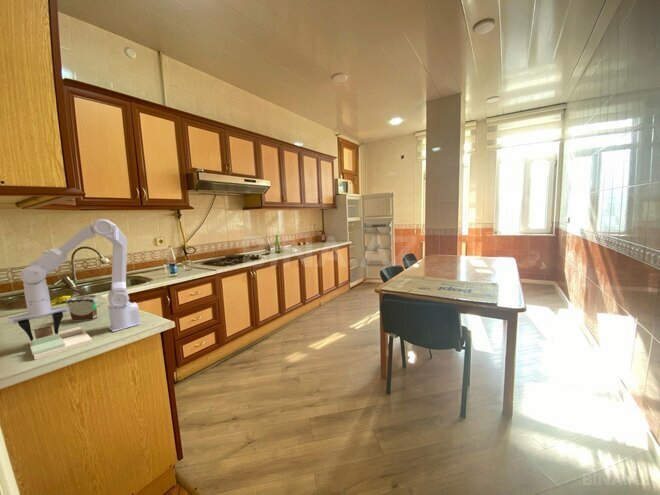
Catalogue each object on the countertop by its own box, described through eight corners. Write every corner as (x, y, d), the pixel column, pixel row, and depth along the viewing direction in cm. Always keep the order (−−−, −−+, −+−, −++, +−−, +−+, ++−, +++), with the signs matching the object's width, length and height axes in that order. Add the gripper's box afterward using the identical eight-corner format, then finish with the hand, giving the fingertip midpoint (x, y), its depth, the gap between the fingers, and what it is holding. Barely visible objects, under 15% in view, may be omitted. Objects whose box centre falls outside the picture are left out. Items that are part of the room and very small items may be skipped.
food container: (107, 314, 125) (105, 294, 124) (96, 319, 119) (93, 298, 118) (80, 316, 125) (77, 295, 124) (68, 321, 119) (65, 299, 118)
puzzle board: (81, 329, 108) (80, 326, 108) (92, 342, 96) (91, 339, 96) (29, 343, 97) (28, 339, 97) (34, 360, 85) (34, 355, 85)
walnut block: (53, 341, 99) (50, 325, 98) (54, 344, 96) (51, 328, 96) (37, 345, 96) (34, 329, 95) (38, 348, 93) (35, 332, 92)
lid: (61, 339, 96) (60, 332, 95) (65, 345, 91) (64, 338, 91) (30, 348, 90) (29, 341, 89) (32, 354, 85) (31, 347, 85)
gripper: (64, 293, 102) (70, 327, 104) (5, 303, 91) (12, 341, 92) (68, 295, 98) (73, 331, 99) (6, 307, 86) (13, 347, 88)
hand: (44, 336), depth 95 cm, fingers open, 5 cm apart
